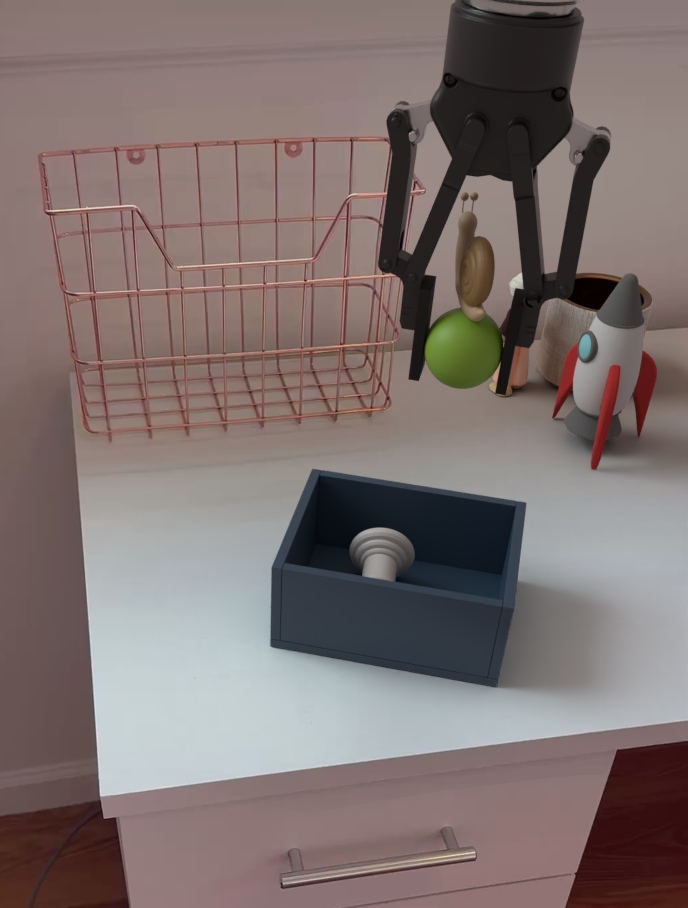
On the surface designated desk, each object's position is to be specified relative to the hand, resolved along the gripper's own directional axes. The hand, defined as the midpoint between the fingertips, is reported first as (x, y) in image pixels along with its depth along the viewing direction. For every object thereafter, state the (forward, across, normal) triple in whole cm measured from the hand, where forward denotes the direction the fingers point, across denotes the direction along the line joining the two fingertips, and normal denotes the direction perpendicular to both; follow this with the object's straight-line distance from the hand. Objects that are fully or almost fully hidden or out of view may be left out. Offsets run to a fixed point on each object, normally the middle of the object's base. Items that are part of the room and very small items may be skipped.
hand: (459, 377), depth 73 cm
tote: (+19, -2, -4) cm, 20 cm away
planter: (+19, +11, +43) cm, 48 cm away
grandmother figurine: (+19, +3, +38) cm, 42 cm away
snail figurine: (+1, 0, 0) cm, 1 cm away
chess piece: (+16, -4, 0) cm, 16 cm away
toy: (+19, +14, +29) cm, 37 cm away
